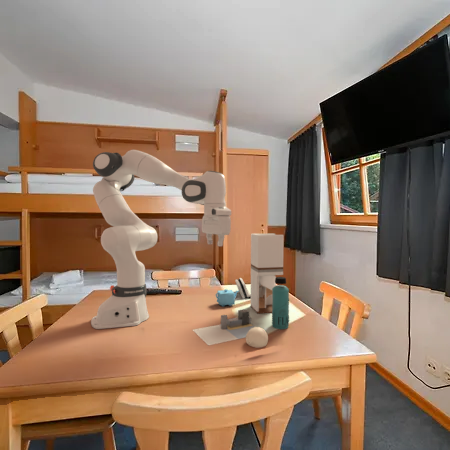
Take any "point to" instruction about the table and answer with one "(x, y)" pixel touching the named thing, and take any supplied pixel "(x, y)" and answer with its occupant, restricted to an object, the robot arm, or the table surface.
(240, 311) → the latch bar
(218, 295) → the teapot
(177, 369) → the table surface
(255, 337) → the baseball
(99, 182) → the robot arm
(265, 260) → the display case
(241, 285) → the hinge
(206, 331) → the door board
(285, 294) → the beverage bottle
